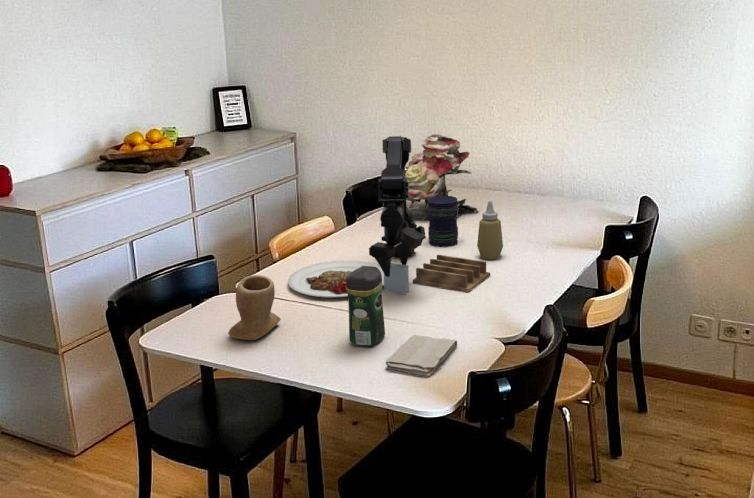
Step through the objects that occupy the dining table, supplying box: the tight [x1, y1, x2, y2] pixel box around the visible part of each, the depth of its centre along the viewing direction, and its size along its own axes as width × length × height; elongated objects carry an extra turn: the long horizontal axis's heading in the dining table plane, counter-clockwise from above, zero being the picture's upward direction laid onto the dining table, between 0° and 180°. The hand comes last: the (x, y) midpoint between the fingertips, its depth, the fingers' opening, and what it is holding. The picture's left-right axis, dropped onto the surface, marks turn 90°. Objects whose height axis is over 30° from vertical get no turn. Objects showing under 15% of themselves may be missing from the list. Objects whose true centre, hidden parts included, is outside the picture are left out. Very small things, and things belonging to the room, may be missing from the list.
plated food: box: [287, 259, 384, 298], centre depth 248 cm, size 30×30×3 cm
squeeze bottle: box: [476, 200, 504, 260], centre depth 262 cm, size 8×8×18 cm
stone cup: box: [227, 274, 281, 341], centre depth 215 cm, size 15×12×15 cm
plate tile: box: [383, 262, 410, 295], centre depth 239 cm, size 7×2×8 cm, turn 59°
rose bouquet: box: [405, 133, 479, 222], centre depth 308 cm, size 26×29×30 cm
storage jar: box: [427, 195, 459, 248], centre depth 278 cm, size 10×10×15 cm
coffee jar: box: [346, 266, 386, 348], centre depth 206 cm, size 10×8×19 cm
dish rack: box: [411, 254, 491, 293], centre depth 246 cm, size 18×15×4 cm
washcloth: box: [385, 334, 458, 378], centre depth 198 cm, size 12×18×3 cm, turn 156°
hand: (395, 271), depth 238 cm, fingers open, 9 cm apart
